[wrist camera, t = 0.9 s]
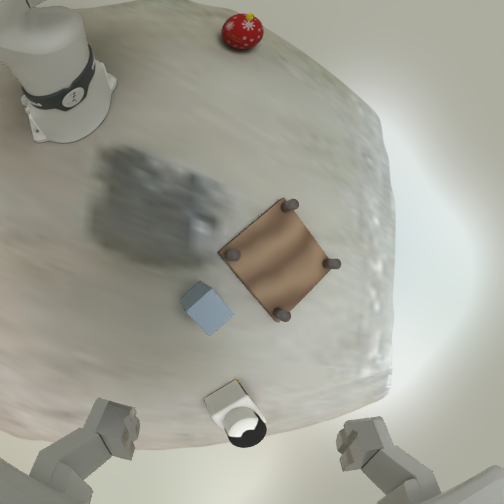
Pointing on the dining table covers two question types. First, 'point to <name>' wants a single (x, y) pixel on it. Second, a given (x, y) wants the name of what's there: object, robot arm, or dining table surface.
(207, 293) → the blue block
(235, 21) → the christmas ornament
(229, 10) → the dining table surface
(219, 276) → the dining table surface
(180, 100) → the dining table surface
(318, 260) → the peg board
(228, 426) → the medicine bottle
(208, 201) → the dining table surface
